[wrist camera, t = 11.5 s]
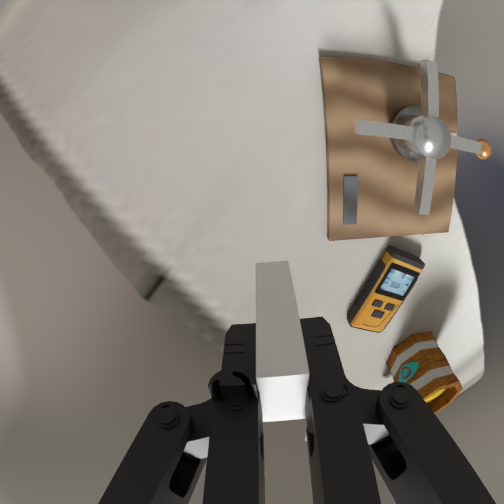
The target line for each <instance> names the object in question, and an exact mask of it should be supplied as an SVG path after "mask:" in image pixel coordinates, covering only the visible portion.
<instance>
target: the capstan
mask: <svg viewBox="0 0 504 504" xmlns="http://www.w3.org/2000/svg"><path fill="white" fill-rule="evenodd" d="M420 74H421V106H404V107H401V108H400V109H398V110H397V111H396V112H395V113H394V115H393V116H392V118H391V121H390V123H383V122H376V121H367V120H357V119H355V134H360V135H370V136H379V137H388V138H390V141H391V143H392V145H393V147H394V149H395V150H396V152H397V153H398V154H399V155H400V156H402V157H403V158H405V159H408V160H411V161H413V162H417V163H419V165H418V175H417V184H416V192H415V200H414V207H413V210H414V211H415V212H417V213H418V214H423V215H429V212H430V206H431V200H432V193H433V186H434V178H435V169H436V159H441V158H443V157H444V156H445V155H446V154H447V153H448V151H449V149H450V148H454V149H459V150H463V151H468V152H472V153H475V154H476V155H477V156H478V157H479V158H481V159H487V158H489V157H490V155H491V152H492V150H491V146H490V144H489V143H488V142H487V141H486V140H484V139H478V140H477V141H473V140H469V139H466V138H462V137H458V136H454V135H451V134H450V130H449V128H448V126H447V125H446V123H445V122H444V121H443V120H441V119H440V118H439V86H438V67H437V62H434V61H430V60H427V59H425V60H421V61H420Z"/></svg>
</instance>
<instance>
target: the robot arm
mask: <svg viewBox="0 0 504 504" xmlns="http://www.w3.org/2000/svg"><path fill="white" fill-rule="evenodd" d="M224 345H225V346H224V352H223V353H224V355H223V361H222V370H221V371H220V372H217V373H216V374H215V375H214V376H213V377H212V378H211V379H210V381H209V384H208V388H209V390H210V393H211V396H212V398H211V399H209V400H208V401H206V402H203V403H201V404H197V405H193V406H189V407H184V406H183V405H182V404H180V403H178V402H171V401H168V402H163V403H160V404H158V405H157V406H155V407H154V408H153V409H152V410H151V411H150V413H149V414H148V416H147V418H146V420H145V421H144V423H143V425H142V427H141V429H140V430H139V432H138V434H137V436H136V437H135V439H134V441H133V443H132V444H131V446H130V448H129V450H128V452H127V454H126V455H125V457H124V459H123V461H122V462H121V464H120V466H119V468H118V469H117V471H116V473H115V475H114V476H113V478H112V480H111V482H110V484H109V486H108V487H107V489H106V491H105V493H104V494H103V496H102V498H101V500H100V502H99V503H98V504H188V503H189V500H190V498H191V495H192V493H193V491H194V489H195V486H196V483H197V481H198V479H199V476H200V474H201V472H202V469H203V467H204V464H205V462H206V459H207V465H206V475H205V485H204V495H203V504H265V483H264V482H265V481H264V480H265V478H264V435H263V422H268V421H282V420H293V419H294V420H295V419H304V418H305V416H306V421H307V429H306V438H305V441H307V444H308V453H309V463H310V473H311V483H312V494H313V504H381V503H380V497H379V492H378V486H377V482H376V477H375V472H374V468H373V463H372V460H373V462H374V464H375V465H376V467H377V469H378V471H379V473H380V474H381V476H382V478H383V480H384V481H385V484H386V485H387V487H388V489H389V491H390V493H391V494H392V496H393V498H394V500H395V502H396V504H496V503H495V502H494V500H493V499H492V497H491V495H490V494H489V492H488V491H487V489H486V487H485V486H484V484H483V483H482V481H481V480H480V478H479V477H478V475H477V474H476V472H475V471H474V469H473V468H472V466H471V465H470V463H469V462H468V460H467V459H466V457H465V456H464V455H463V453H462V452H461V450H460V449H459V447H458V446H457V444H456V443H455V442H454V440H453V439H452V437H451V436H450V435H449V433H448V432H447V430H446V429H445V428H444V426H443V425H442V423H441V422H440V421H439V419H438V418H437V417H436V415H435V414H434V413H433V411H432V410H431V408H430V407H429V406H428V404H427V403H426V402H425V400H424V399H423V398H422V396H421V395H420V394H419V393H418V391H417V390H416V389H415V388H414V387H413V386H412V385H410V384H407V383H405V382H394V383H390V384H388V385H387V386H386V387H384V388H383V390H382V391H380V390H368V389H362V388H359V387H356V386H354V385H353V384H352V383H350V382H349V381H348V379H347V378H346V376H345V374H344V371H343V367H342V363H341V360H340V356H339V353H338V350H337V346H336V344H335V339H334V337H333V333H332V329H331V326H330V324H329V323H328V322H327V321H326V320H325V319H324V318H323V317H314V318H305V319H300V318H299V313H298V308H297V303H296V298H295V293H294V288H293V283H292V278H291V273H290V268H289V263H288V261H280V262H267V263H256V323H253V324H236V325H231V327H230V328H229V330H228V331H227V333H226V335H225V344H224ZM371 458H372V459H371Z"/></svg>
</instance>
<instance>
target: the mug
mask: <svg viewBox="0 0 504 504" xmlns="http://www.w3.org/2000/svg"><path fill="white" fill-rule="evenodd" d="M386 365H387V366H388V368H389V370H390V372H391V374H392V376H393V379H394V382H405V383H407V384H410V385H412V386H413V387H414V388H415V389H416V390H417V391H418V393H419V394H420V395H421V396H422V398H423V399H424V400H425V402H426V403H427V404H428V406H429V407H430V408H431V410H432V411H433V413H434V414H436V413H437V412H439V411H441V410H442V409H443V408H445V407H447V406H448V405H449V404H451V403H452V402H453V401H454V400H455V398H456V397H457V396H458V394H459V393H460V392H461V391H462V389H463V388H462V386H461V383H460V381H459V380H458V379H457V377H456V376H455V375H454V373H453V371H452V369H451V367H450V365H449V363H448V361H447V359H446V357H445V355H444V354H443V352H442V351H441V350H440V348H439V347H438V344H437V342H436V340H435V338H434V337H433V335H432V333H431V332H424V333H416V334H412V335H410V336H409V337H408V338H406V339H405V340H404V341H402V342H401V343H399V344H398V345H396V346H395V347H394V348H393V349H392V351H391V354H390V356H389V358H388V360H387V362H386ZM394 382H393V383H394Z"/></svg>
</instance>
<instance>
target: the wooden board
mask: <svg viewBox="0 0 504 504" xmlns="http://www.w3.org/2000/svg"><path fill="white" fill-rule="evenodd" d="M319 60H320V69H321V79H322V90H323V101H324V115H325V131H326V151H327V186H328V232H327V238H328V240H329V241H335V240H348V239H361V238H374V237H388V236H401V235H415V234H429V233H443V232H448V231H449V225H450V219H451V212H452V205H453V197H454V187H455V177H456V162H457V149H454V148H450V149H449V151H448V153H447V154H446V155H445V156H444V157H443V158H441V159H436V169H435V178H434V186H433V193H432V200H431V206H430V212H429V215H423V214H418V213H417V212H415V211H414V210H413V207H414V200H415V192H416V184H417V175H418V165H419V163H417V162H413V161H411V160H408V159H405V158H403V157H402V156H400V155H399V154H398V153H397V152H396V150H395V149H394V147H393V145H392V143H391V141H390V138H388V137H379V136H370V135H360V134H355V119H357V120H367V121H376V122H383V123H390V121H391V118H392V116H393V115H394V113H395V112H396V111H397V110H398V109H400V108H401V107H404V106H421V74H420V68H416V67H412V66H406V65H401V64H395V63H389V62H382V61H374V60H366V59H356V58H344V57H326V56H321V57H320V58H319ZM438 86H439V118H440V119H441V120H443V121H444V122H445V123H446V125H447V126H448V128H449V130H450V134H451V135H454V136H457V98H456V84H455V77H453V76H449V75H446V74H442V73H438Z"/></svg>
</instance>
